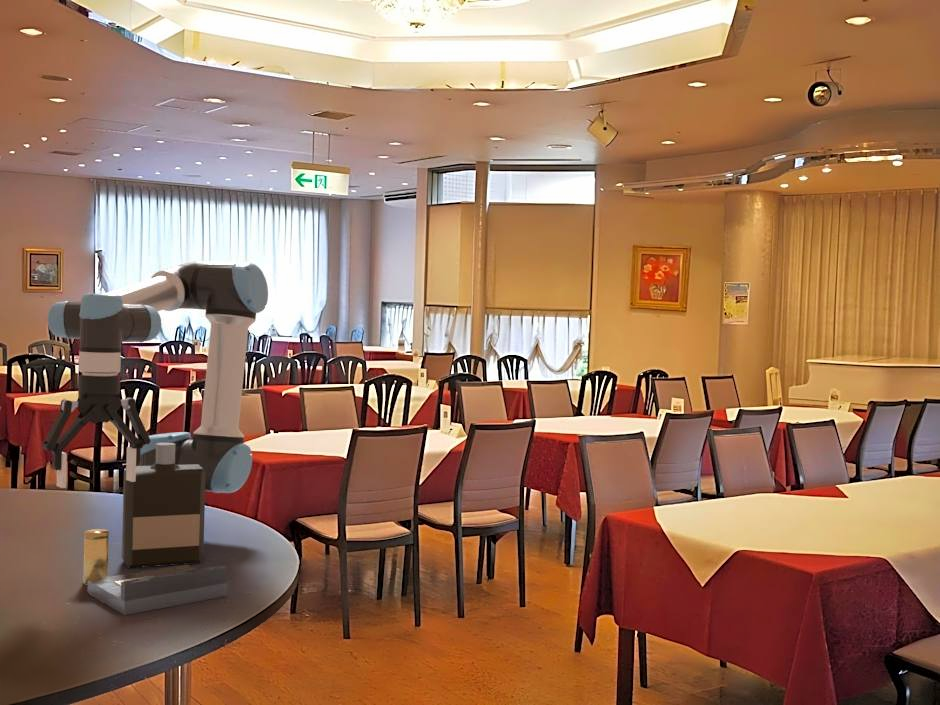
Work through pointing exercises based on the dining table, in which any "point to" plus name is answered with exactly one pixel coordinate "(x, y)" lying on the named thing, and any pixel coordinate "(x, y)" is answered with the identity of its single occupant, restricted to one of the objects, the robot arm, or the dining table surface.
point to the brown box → (164, 512)
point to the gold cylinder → (95, 554)
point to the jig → (160, 588)
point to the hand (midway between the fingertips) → (96, 484)
